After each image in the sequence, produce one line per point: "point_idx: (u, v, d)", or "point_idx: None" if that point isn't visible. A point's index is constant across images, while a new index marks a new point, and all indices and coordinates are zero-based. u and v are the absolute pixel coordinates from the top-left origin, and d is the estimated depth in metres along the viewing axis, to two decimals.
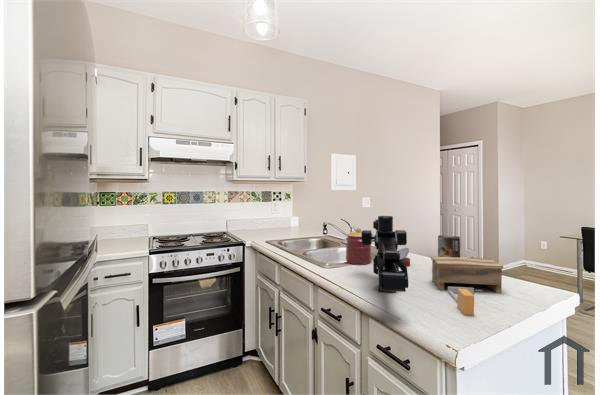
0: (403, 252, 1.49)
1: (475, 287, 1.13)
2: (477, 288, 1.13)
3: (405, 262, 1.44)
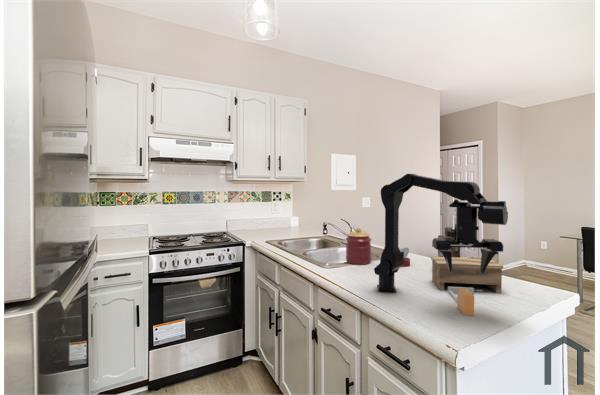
0: None
1: (475, 287, 1.13)
2: (477, 288, 1.13)
3: (405, 262, 1.44)
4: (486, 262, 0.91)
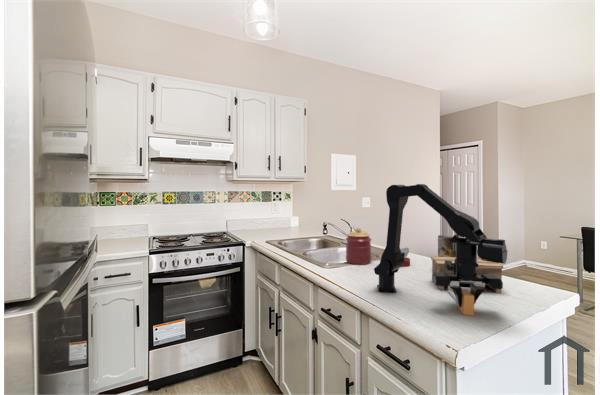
0: (403, 252, 1.49)
1: None
2: None
3: (405, 262, 1.44)
4: (475, 298, 0.92)
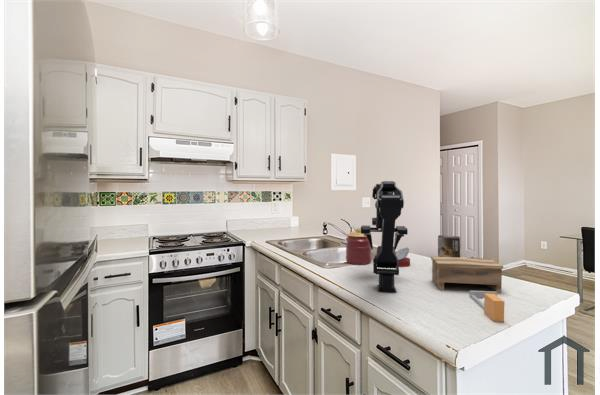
0: (403, 252, 1.49)
1: None
2: None
3: (405, 262, 1.44)
4: (396, 242, 1.24)
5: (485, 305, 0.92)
